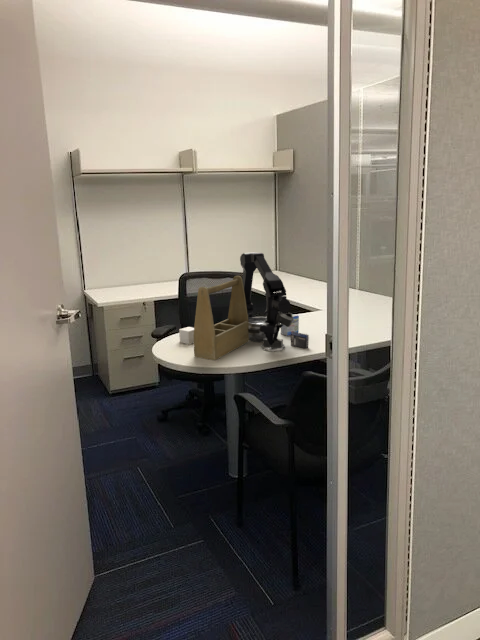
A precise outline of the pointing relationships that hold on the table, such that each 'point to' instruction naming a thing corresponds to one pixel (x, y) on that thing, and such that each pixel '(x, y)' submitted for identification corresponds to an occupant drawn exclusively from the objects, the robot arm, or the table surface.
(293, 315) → the medicine box
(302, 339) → the mini dv tape
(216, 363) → the table surface
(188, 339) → the white cube
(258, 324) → the pot
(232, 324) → the caddy
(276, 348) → the lid
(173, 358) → the table surface
